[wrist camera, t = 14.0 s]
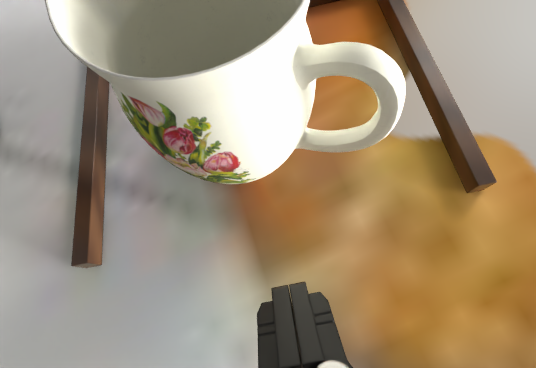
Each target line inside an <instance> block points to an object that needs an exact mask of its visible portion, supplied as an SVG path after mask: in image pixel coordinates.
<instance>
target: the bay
mask: <svg viewBox="0 0 536 368" xmlns="http://www.w3.org/2000/svg"><path fill="white" fill-rule="evenodd" d="M334 1H338V0H310V2H309V6H308V7H311V6H315V5H320V4H324V3H329V2H334ZM377 1H378V3H379V5H380V7H381V10H382V12H383V14H384V16H385V18H386V20H387V22H388V25H389V27H390V29H391V31H392V33H393V35H394V38H395V40H396V42H397V44H398V46H399V48H400V50H401V53H402V55H403V57H404V59H405V61H406V63H407V65H408V68H409V70H410V72H411V74H412V76H413V78H414V80H415V82H416V85H417V87H418V89H419V91H420V93H421V95H422V98H423V100H424V102H425V104H426V106H427V108H428V111H429V113H430V115H431V117H432V119H433V121H434V123H435V126H436V128H437V130H438V132H439V134H440V136H441V138H442V141H443V143H444V145H445V147H446V149H447V151H448V153H449V156H450V158H451V160H452V162H453V164H454V166H455V169H456V171H457V173H458V175H459V177H460V179H461V181H462V184H463V186H464V188H465V190H466V192H467V193H470V192H475V191H480V190H484V189H486V188H487V187H489V186H491V185H493V184H494V183H496V182H497V181H496V179H495V177H494V175H493V173H492V171H491V169H490V168H489V166H488V164H487V162H486V160H485V158H484V156H483V154H482V152H481V150H480V148H479V146H478V144H477V142H476V140H475V138H474V137H473V135H472V133H471V131H470V129H469V127H468V125H467V123H466V121H465V119H464V117H463V115H462V113H461V111H460V109H459V107H458V105H457V104H456V102H455V100H454V98H453V96H452V94H451V92H450V90H449V88H448V86H447V84H446V82H445V80H444V78H443V77H442V74H441V73H440V71H439V69H438V67H437V65H436V63H435V61H434V59H433V57H432V56H431V53H430V51H429V49H428V48H427V45H426V44H425V41H424V40H423V38H422V36H421V34H420V32H419V30H418V28H417V26H416V24H415V22H414V20H413V18H412V16H411V14H410V12H409V10H408V9H407V7H406V5H405V3H404V1H403V0H377ZM108 97H109V82H108V81H107V80H105V79H104V78H103V77H101V76H100V75H98V74H97V73H96V72H94V71H93V70H91V69H90V68H89V67H87V76H86V88H85V101H84V113H83V126H82V138H81V151H80V163H79V176H78V188H77V201H76V213H75V226H74V238H73V251H72V263H71V266H75V267H82V268H89V267H94V266H99V265H101V264H102V241H103V217H104V193H105V169H106V145H107V121H108Z"/></svg>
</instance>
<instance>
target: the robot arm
mask: <svg viewBox="0 0 536 368" xmlns="http://www.w3.org/2000/svg"><path fill="white" fill-rule="evenodd" d="M289 287H290V292H289V288H288V285H285V286H280V287H275V288H272V300H273V301H270V302H265V303H262V304H261V306H260V308H259V311H258V313H257V325H258V368H353V367H352V366H351V365H350V364H349V362H348V360H347V358H346V355H345V352H344V349H343V346H342V343H341V340H340V337H339V334H338V330H337V327H336V324H335V322H334V318H333V315H332V312H331V309H330V305H329V302H328V300H327V299H326V298H325V297H324V296H323V295H322V293H321V292H317V293H311V294H308V291H307V286H306V283H305V282H300V283H295V284H290V285H289ZM290 293H291V297H290ZM291 299H292V302H291ZM292 305H293V306H292Z"/></svg>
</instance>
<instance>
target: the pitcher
mask: <svg viewBox="0 0 536 368" xmlns="http://www.w3.org/2000/svg"><path fill="white" fill-rule="evenodd" d="M309 2H310V0H45V3H46V7H47V11H48V15H49V19H50V22H51V24H52V26H53V29H54V31H55V33H56V34H57V36H58V37H59V39H60V40H61V42H62V43H63V45H64V46H65V47H66V48H67V49H68V50H69V51H70V52H71V53H72V54H73V55H74V56H75V57H76V58H77V59H79V60H80V61H81V62H82V63H83V64H85V65H86V66H87V67H89V68H90V69H91V70H93V71H94V72H96V73H97V74H98V75H100V76H101V77H103V78H104V79H105V80H107V81H108V82H109V83H111V85H112V88H113V90H114V92H115V94H116V96H117V99H118V101H119V103H120V105H121V107H122V109H123V111H124V113H125V115H126V116H127V118H128V119H129V121H130V122H131V124H132V125H133V127H134V128H135V129H136V131H137V132H138V133H139V134H140V136H141V137H142V138H143V139H144V140H145V141H146V142H147V143H148V144H149V145H150V146H151V147H152V148H153V149H154V150H155V151H156V152H157V153H158V154H160V155H161V156H162V157H163V158H165V159H166V160H167V161H168V162H170V163H171V164H172V165H174V166H176V167H177V168H179V169H181V170H183V171H184V172H186V173H188V174H190V175H193V176H195V177H198V178H200V179H203V180H207V181H211V182H215V183H221V184H242V183H248V182H252V181H255V180H258V179H260V178H263V177H265V176H266V175H268V174H270V173H271V172H273V171H274V170H276V169H277V168H278V167H279V166H280V165H281V164H282V163H284V162H285V161H286V160H287V158H288V157H289V156H290V154H291V153H292V152H293V150H294V149H297V148H302V149H307V150H314V151H322V152H349V151H355V150H360V149H364V148H367V147H370V146H372V145H374V144H376V143H378V142H379V141H380V140H382V139H383V138H385V137H386V136H387V135H388V134H389V133H390V132H391V131H392V129H393V128H394V127H395V125H396V123H397V121H398V119H399V117H400V115H401V112H402V108H403V105H404V101H405V94H406V92H405V91H406V90H405V79H404V77H403V74H402V71H401V69H400V68H399V66H398V65H397V64H396V62H395V61H394V60H393V59H392V58H391V57H390V56H388V55H387V54H386V53H385V52H383V51H382V50H380V49H378V48H376V47H373V46H371V45H368V44H362V43H357V42H337V43H331V44H325V45H315V44H313V43H312V40H311V36H310V33H309V30H308V26H307V24H306V21H305V18H306V13H307V10H308V6H309ZM336 75H340V76H348V77H352V78H356V79H359V80H361V81H363V82H365V83H366V84H368V85H369V86H370V87H372V89H373V90H374V92H375V94H376V96H377V100H378V109H377V112H376V113H375V114H374V116H373V117H372V119H371V120H369V121H368V122H367V123H365V124H363V125H361V126H358V127H355V128H350V129H345V130H338V131H322V130H314V129H309V128H307V127H306V126H307V124H308V121H309V118H310V114H311V111H312V106H313V102H314V95H315V84H316V79H317V78H319V77H324V76H336Z"/></svg>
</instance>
